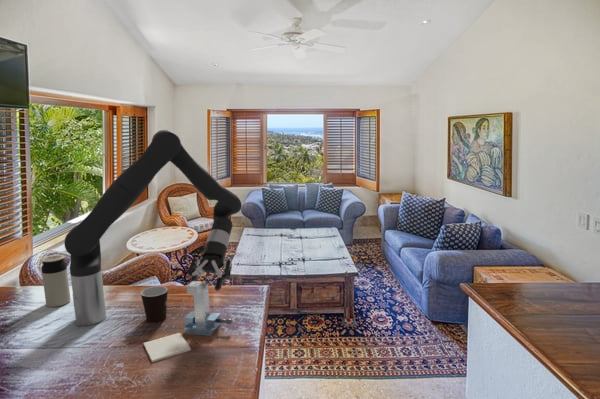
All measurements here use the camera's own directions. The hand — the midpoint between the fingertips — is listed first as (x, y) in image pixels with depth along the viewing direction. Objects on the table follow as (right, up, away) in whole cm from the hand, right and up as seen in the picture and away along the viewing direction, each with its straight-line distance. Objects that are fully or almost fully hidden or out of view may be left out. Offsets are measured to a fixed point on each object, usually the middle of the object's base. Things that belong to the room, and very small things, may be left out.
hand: (204, 289), depth 130 cm
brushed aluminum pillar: (-1, -11, -3) cm, 12 cm away
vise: (+2, -13, -1) cm, 13 cm away
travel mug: (-60, -10, +20) cm, 64 cm away
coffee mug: (-18, -12, +8) cm, 23 cm away
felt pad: (-9, -15, -11) cm, 21 cm away
